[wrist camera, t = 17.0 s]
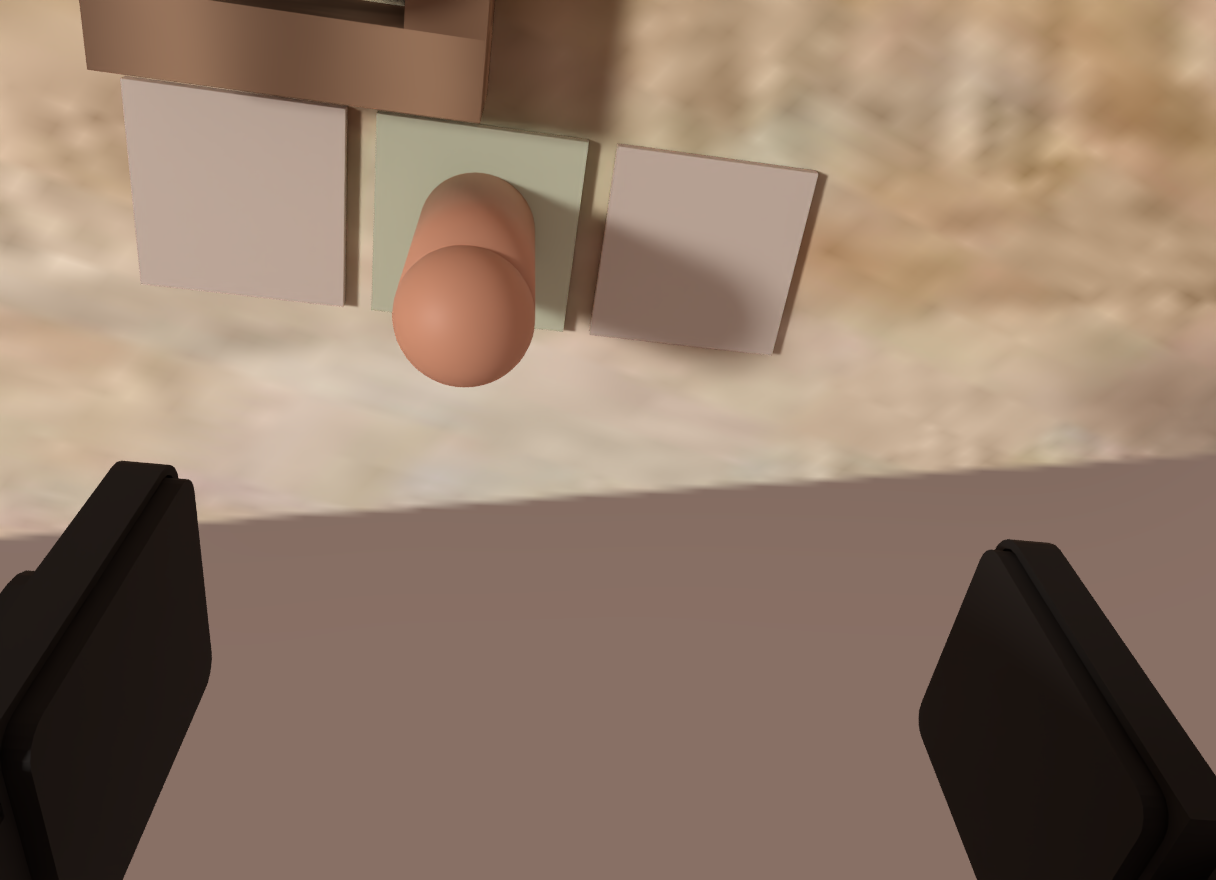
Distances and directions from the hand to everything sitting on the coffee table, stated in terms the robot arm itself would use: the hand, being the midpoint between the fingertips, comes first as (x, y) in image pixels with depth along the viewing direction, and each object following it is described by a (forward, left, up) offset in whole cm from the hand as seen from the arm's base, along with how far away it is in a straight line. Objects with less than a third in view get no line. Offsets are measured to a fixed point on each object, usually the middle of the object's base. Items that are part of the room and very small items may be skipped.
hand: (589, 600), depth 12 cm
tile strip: (+3, +4, -25) cm, 25 cm away
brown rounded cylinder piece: (+3, +4, -24) cm, 25 cm away
